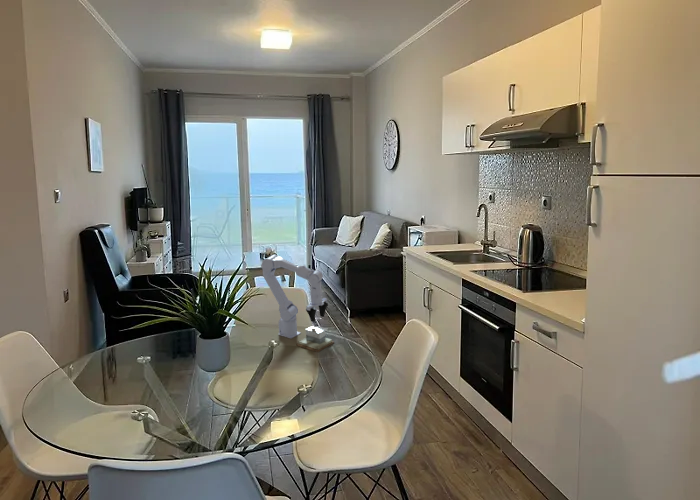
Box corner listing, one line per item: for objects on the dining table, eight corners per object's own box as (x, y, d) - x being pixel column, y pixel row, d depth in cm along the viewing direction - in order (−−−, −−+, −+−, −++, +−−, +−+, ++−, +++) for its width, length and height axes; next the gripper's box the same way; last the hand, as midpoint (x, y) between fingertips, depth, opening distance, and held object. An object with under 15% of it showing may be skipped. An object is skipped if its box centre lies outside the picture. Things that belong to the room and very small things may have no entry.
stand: (296, 345, 261) (296, 341, 261) (313, 336, 271) (312, 332, 271) (318, 352, 253) (317, 348, 253) (334, 342, 263) (334, 339, 263)
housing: (319, 344, 257) (319, 333, 256) (306, 340, 262) (305, 329, 261) (325, 341, 261) (325, 330, 259) (311, 337, 266) (311, 326, 264)
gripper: (313, 300, 256) (314, 325, 259) (331, 291, 267) (332, 315, 271) (302, 297, 260) (304, 322, 263) (320, 289, 271) (321, 313, 275)
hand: (317, 318), depth 267 cm, fingers open, 7 cm apart
